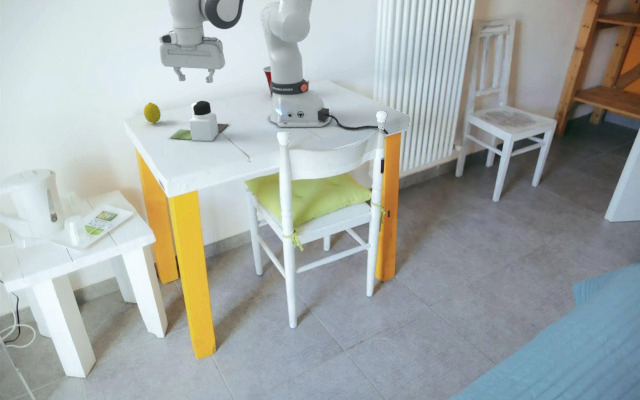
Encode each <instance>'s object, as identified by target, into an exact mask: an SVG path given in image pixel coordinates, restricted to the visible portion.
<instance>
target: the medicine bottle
mask: <svg viewBox="0 0 640 400" xmlns="http://www.w3.org/2000/svg"><path fill="white" fill-rule="evenodd" d="M190 108H191V113H192V116H191V118H190V119H189V120H188V124H189V130H190V131H191V136H192V139H191V141H195V142H196V141H197V142H199V141H200V142H201V141H202V142H213V141H214V140H215V138H216V137H217V136H218V134H219V133H218V125H217V124H218V120H217V119H218V118H217V113H212V109H211V103H210V102H209V101H207V100H197V101H194V102H193V103H191V104H190Z"/></svg>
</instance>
